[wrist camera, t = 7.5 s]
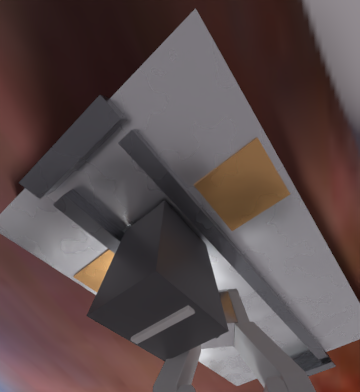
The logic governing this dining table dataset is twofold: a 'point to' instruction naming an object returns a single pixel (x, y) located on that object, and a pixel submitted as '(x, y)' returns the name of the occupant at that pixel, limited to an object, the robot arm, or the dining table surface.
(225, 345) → the robot arm
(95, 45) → the dining table surface
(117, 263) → the fader knob
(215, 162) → the console
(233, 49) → the dining table surface
